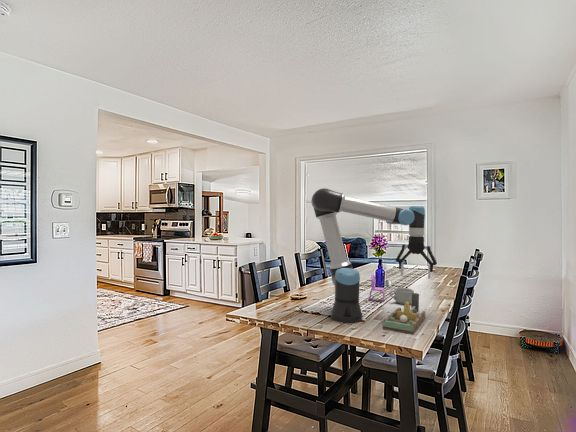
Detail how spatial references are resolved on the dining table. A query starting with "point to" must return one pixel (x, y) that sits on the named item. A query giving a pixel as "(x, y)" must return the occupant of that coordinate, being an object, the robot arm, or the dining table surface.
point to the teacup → (402, 295)
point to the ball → (403, 319)
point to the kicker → (413, 306)
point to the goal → (398, 324)
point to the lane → (415, 324)
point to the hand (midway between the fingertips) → (415, 276)
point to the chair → (376, 288)
